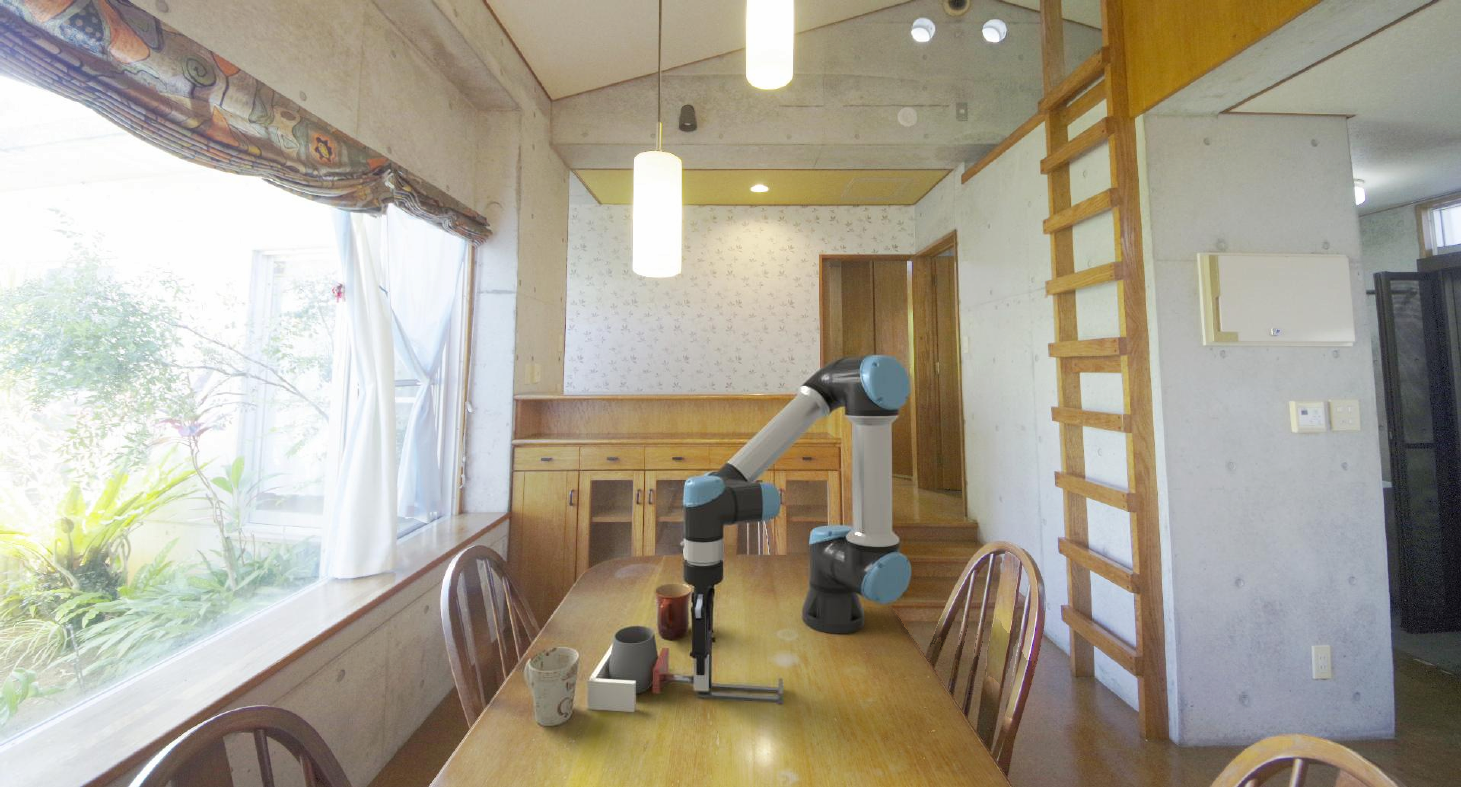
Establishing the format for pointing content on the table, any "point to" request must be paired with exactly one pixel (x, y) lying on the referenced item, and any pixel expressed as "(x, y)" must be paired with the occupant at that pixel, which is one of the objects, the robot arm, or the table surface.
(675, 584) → the mug
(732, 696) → the rails
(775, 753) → the table surface
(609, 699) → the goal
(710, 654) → the rail slider
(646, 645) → the cup
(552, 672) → the mug
